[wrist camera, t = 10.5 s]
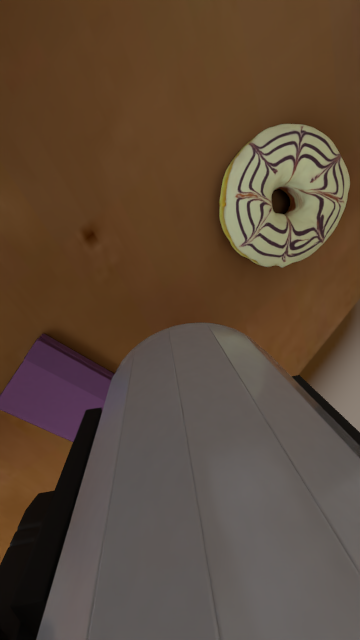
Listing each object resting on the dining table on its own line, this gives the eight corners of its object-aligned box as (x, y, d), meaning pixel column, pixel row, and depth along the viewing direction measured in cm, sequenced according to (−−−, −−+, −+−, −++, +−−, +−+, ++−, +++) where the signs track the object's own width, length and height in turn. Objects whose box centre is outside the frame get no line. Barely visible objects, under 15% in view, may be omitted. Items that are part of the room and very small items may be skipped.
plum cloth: (147, 469, 31) (147, 479, 30) (-3, 401, 25) (-11, 410, 24) (194, 419, 29) (196, 427, 28) (43, 332, 23) (37, 338, 22)
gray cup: (126, 473, 15) (80, 891, 5) (90, 336, 11) (-202, 806, 2) (272, 447, 15) (460, 779, 6) (277, 310, 12) (721, 573, 3)
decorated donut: (312, 263, 24) (340, 268, 20) (211, 263, 23) (222, 268, 19) (337, 142, 20) (376, 123, 17) (219, 134, 19) (234, 111, 16)
